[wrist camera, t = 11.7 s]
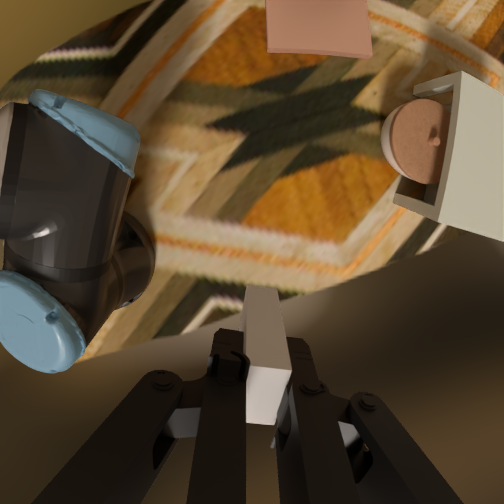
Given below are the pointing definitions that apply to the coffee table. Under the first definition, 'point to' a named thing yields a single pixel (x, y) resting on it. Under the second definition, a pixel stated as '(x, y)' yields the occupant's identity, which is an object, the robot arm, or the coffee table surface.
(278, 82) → the coffee table surface
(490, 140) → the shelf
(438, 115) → the lidded jar
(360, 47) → the book
